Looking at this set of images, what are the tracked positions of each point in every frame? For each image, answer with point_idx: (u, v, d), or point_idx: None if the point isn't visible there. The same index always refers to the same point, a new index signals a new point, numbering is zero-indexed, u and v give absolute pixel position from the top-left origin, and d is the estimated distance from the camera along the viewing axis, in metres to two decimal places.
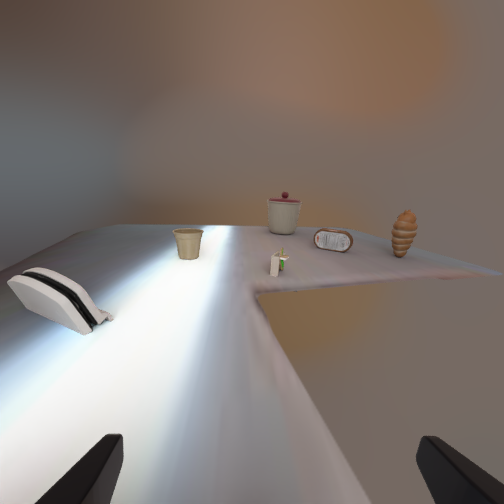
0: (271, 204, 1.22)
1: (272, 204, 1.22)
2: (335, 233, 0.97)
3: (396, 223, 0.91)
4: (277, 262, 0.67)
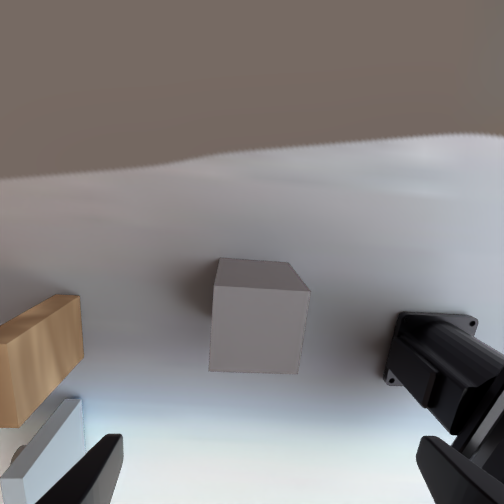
0: None
1: None
2: None
3: None
4: None
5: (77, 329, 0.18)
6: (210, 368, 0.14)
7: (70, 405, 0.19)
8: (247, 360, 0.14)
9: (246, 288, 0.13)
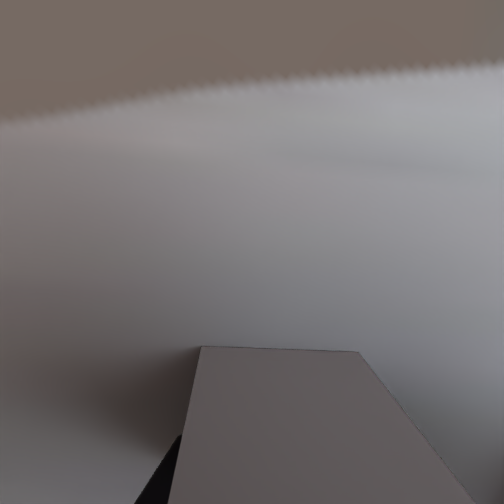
0: None
1: None
2: None
3: None
4: None
5: None
6: None
7: None
8: None
9: None
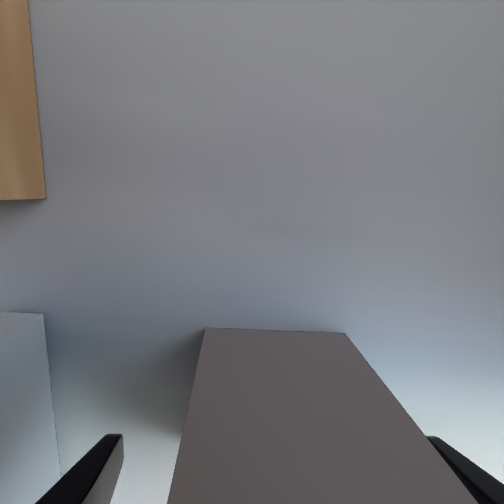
0: None
1: None
2: None
3: None
4: None
5: (19, 89, 0.06)
6: None
7: (10, 323, 0.07)
8: None
9: None
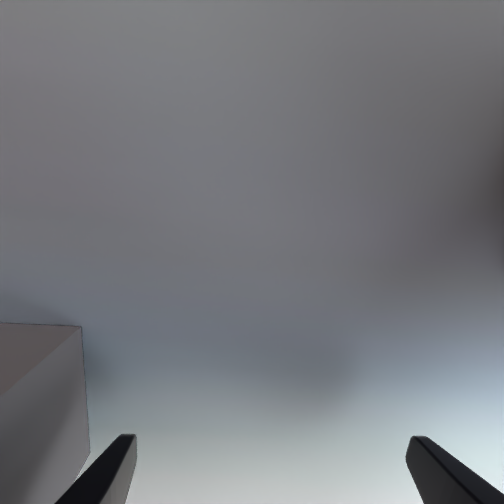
0: None
1: None
2: None
3: None
4: None
5: None
6: None
7: None
8: None
9: None
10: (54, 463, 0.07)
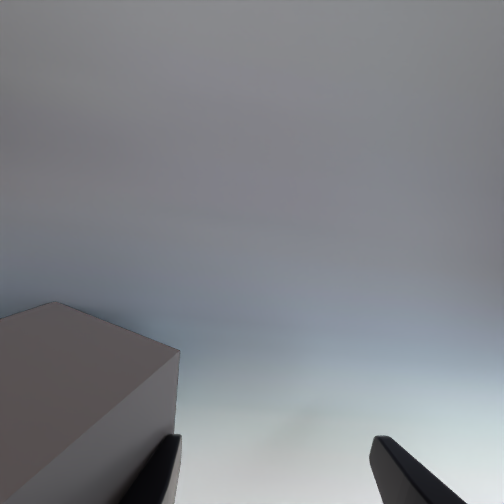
0: None
1: None
2: None
3: None
4: None
5: None
6: None
7: None
8: None
9: None
10: None
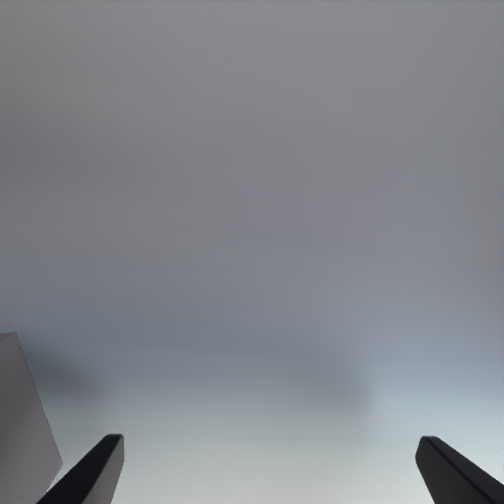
0: None
1: None
2: None
3: None
4: None
5: None
6: None
7: None
8: None
9: None
10: (8, 475, 0.07)
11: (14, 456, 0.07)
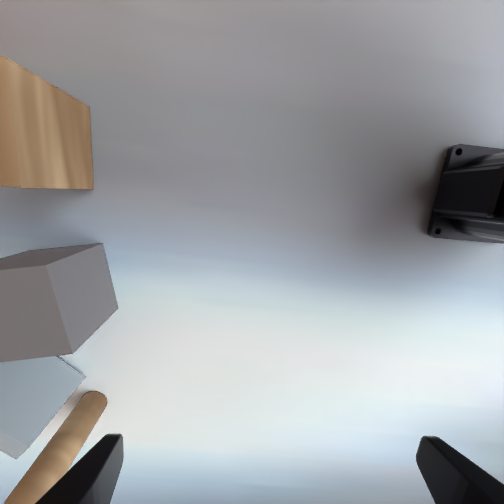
0: None
1: None
2: None
3: None
4: None
5: (86, 145, 0.15)
6: None
7: None
8: (11, 347, 0.13)
9: None
10: (102, 295, 0.17)
11: (103, 290, 0.17)
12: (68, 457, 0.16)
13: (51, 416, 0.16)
